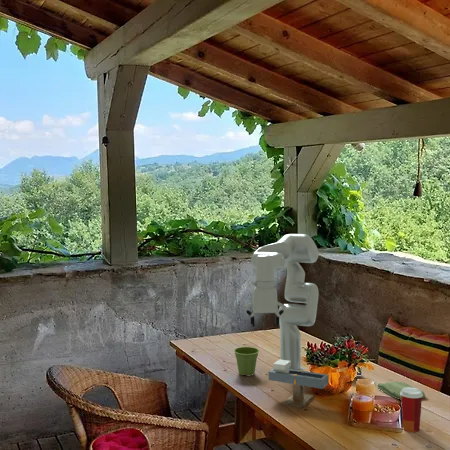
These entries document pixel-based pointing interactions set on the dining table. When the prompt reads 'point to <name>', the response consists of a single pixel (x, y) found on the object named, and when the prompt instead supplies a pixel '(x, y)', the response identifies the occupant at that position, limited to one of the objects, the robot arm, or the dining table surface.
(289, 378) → the balance beam
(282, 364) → the rider
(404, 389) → the paper cup
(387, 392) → the washcloth
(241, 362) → the plant pot
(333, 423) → the dining table surface
